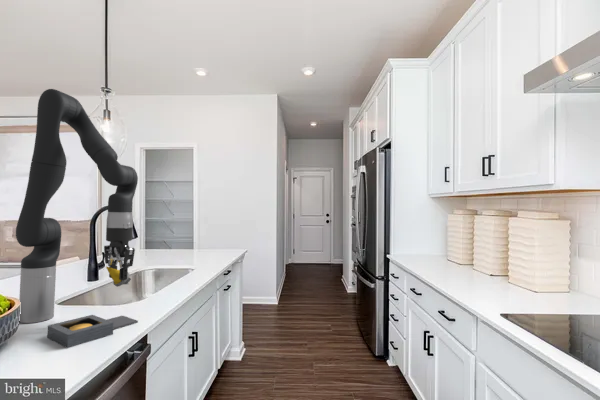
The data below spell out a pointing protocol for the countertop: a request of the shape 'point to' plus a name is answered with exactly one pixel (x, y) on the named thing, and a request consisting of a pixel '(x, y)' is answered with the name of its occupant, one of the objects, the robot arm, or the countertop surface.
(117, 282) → the ridged yellow cone
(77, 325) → the button
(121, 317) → the rest mat
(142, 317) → the countertop surface
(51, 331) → the grey open box
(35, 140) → the robot arm
